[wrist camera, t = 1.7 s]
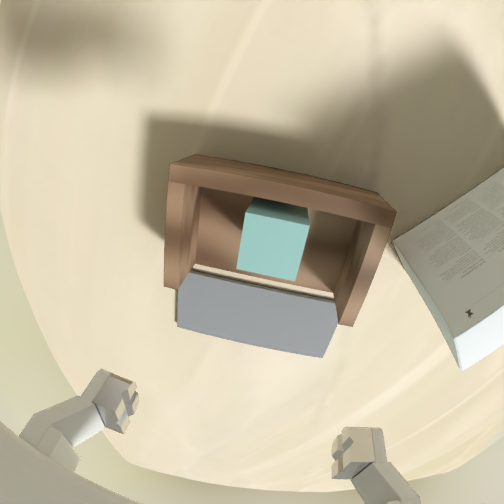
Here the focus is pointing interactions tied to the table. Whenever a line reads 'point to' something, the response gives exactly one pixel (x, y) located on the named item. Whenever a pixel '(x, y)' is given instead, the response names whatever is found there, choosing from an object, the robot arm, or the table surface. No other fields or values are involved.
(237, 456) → the table surface
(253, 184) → the open-fronted box
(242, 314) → the grey mat
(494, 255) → the skincare box
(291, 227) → the teal block
